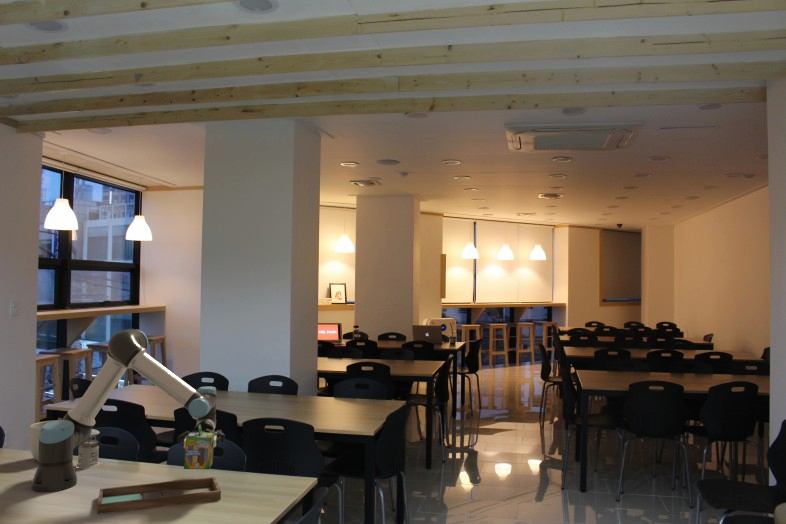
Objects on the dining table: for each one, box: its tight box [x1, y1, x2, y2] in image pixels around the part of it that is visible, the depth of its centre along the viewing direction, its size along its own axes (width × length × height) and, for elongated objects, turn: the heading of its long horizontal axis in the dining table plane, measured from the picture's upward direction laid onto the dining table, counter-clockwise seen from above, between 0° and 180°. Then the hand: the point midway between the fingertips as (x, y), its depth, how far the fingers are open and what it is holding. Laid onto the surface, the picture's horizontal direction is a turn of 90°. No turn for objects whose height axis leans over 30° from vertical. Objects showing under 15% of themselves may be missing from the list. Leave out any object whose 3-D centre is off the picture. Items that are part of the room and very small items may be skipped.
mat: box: [102, 493, 142, 504], centre depth 211 cm, size 14×12×1 cm
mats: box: [142, 489, 183, 499], centre depth 216 cm, size 14×13×1 cm
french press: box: [75, 428, 101, 469], centre depth 257 cm, size 10×12×25 cm
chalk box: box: [183, 425, 215, 470], centre depth 221 cm, size 9×9×15 cm
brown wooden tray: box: [96, 476, 222, 515], centre depth 216 cm, size 18×40×3 cm, turn 113°
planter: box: [29, 419, 58, 461], centre depth 265 cm, size 17×17×15 cm
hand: (199, 444), depth 218 cm, fingers closed on chalk box, 10 cm apart
